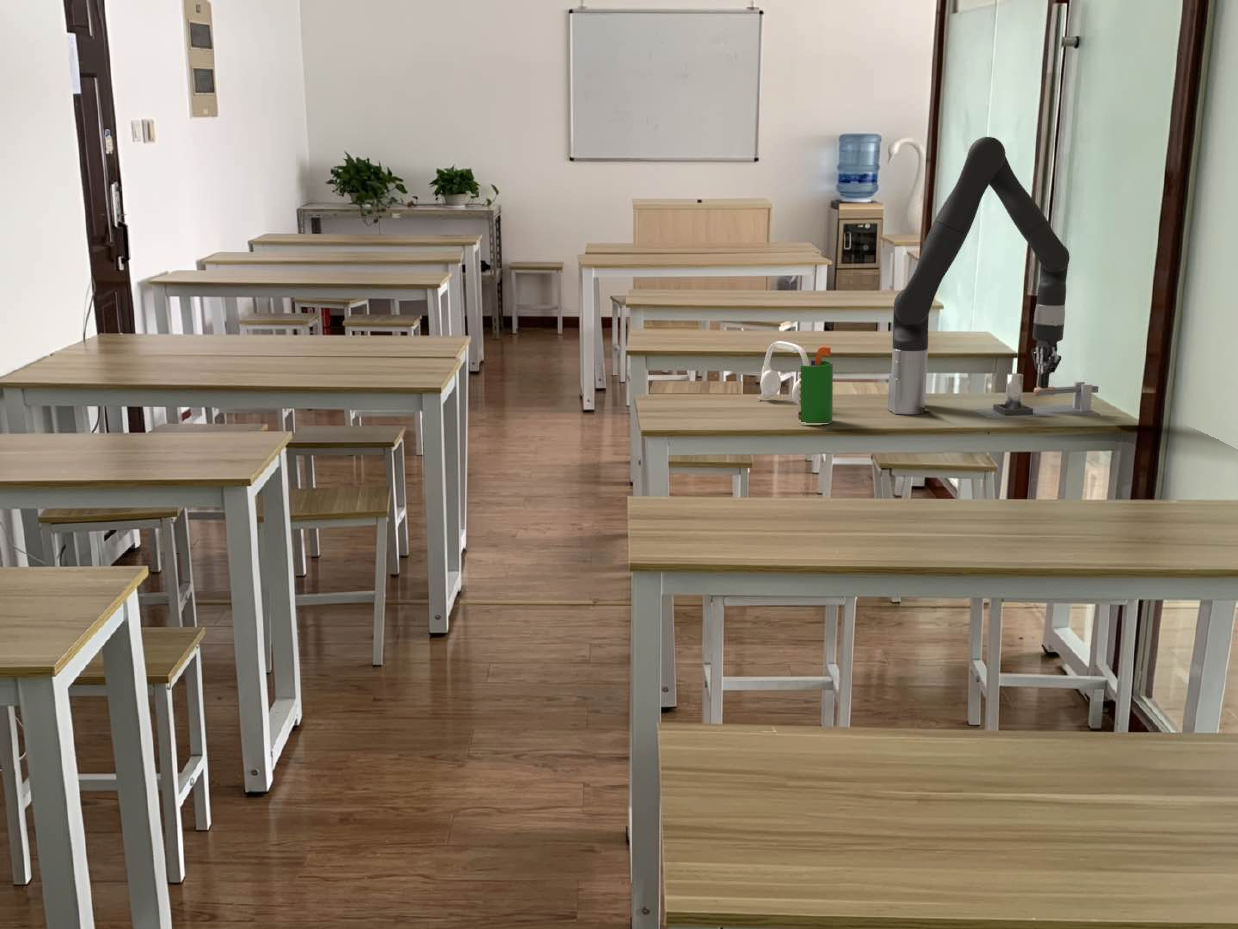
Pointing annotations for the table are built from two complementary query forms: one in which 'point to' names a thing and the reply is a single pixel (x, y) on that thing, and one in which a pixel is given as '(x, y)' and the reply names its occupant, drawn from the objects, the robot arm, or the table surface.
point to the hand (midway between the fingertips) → (1043, 387)
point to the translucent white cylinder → (1014, 391)
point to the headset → (771, 378)
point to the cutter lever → (1060, 390)
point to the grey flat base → (1045, 407)
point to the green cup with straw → (817, 389)
